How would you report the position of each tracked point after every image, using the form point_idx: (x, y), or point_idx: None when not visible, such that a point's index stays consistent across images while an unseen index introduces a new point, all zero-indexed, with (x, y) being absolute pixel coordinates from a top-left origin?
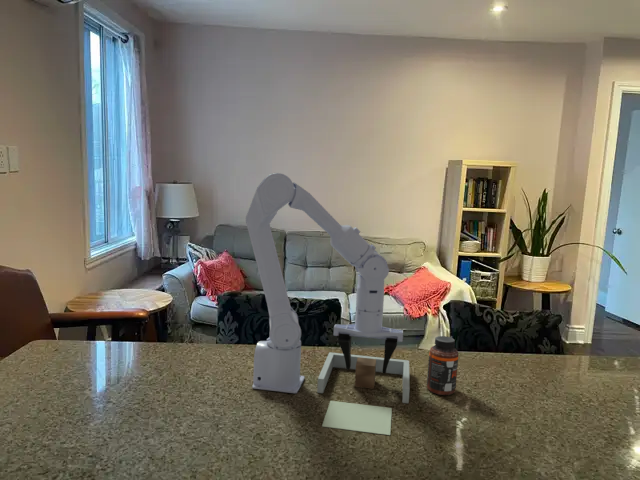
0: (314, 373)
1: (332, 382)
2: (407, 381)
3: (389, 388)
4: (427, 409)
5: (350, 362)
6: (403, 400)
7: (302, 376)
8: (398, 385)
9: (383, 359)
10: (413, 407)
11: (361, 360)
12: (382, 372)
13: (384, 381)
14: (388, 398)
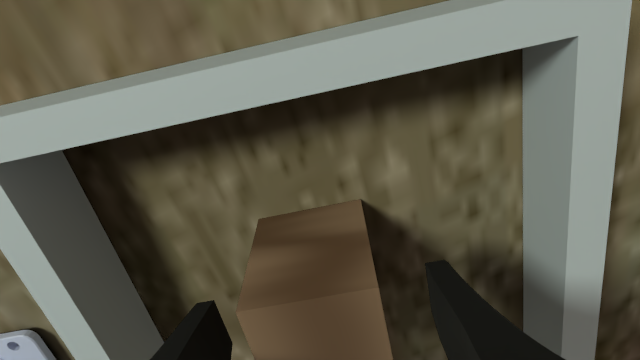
0: None
1: (170, 303)
2: (585, 336)
3: (453, 247)
4: (628, 348)
5: (209, 332)
6: None
7: (23, 343)
8: (498, 195)
9: (393, 69)
10: None
11: (283, 348)
12: (433, 316)
13: (414, 182)
14: None
